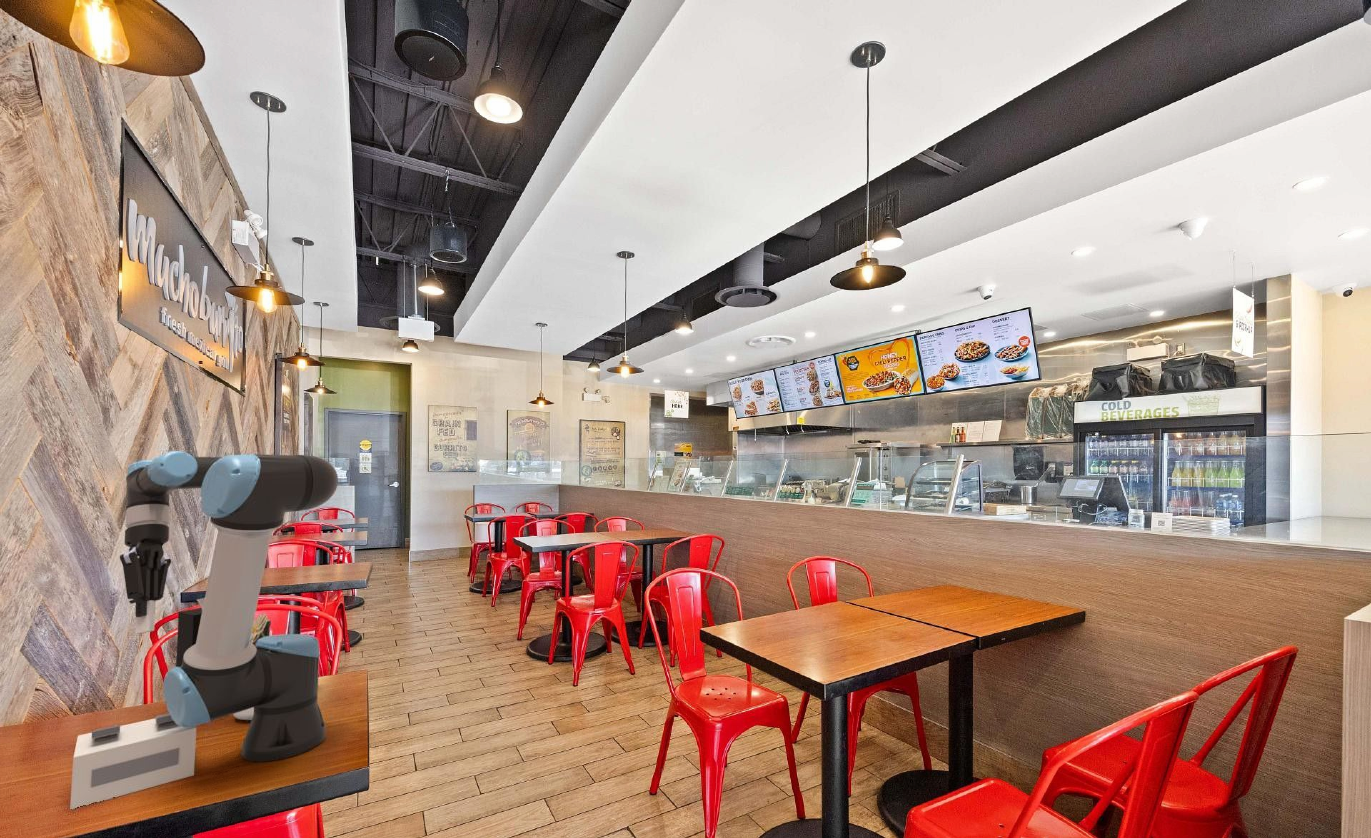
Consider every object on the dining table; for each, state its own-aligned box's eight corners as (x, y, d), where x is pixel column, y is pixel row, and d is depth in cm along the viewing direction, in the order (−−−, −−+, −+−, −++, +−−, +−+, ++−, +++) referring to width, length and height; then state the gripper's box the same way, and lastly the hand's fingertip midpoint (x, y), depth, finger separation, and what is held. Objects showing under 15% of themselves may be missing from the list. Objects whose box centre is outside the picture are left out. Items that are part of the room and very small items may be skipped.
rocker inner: (155, 721, 120) (155, 715, 120) (180, 715, 123) (180, 710, 123) (156, 723, 116) (156, 717, 116) (181, 718, 119) (182, 712, 119)
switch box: (74, 784, 114) (78, 733, 115) (189, 754, 126) (191, 708, 126) (69, 810, 105) (73, 755, 106) (193, 775, 117) (196, 726, 117)
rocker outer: (92, 736, 114) (92, 729, 114) (119, 729, 116) (120, 723, 117) (91, 738, 110) (92, 731, 110) (119, 731, 112) (120, 725, 113)
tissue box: (172, 714, 146) (178, 598, 148) (210, 702, 153) (215, 592, 155) (188, 720, 143) (194, 601, 145) (225, 708, 150) (231, 595, 152)
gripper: (148, 535, 142) (146, 637, 135) (106, 525, 130) (101, 636, 122) (184, 528, 143) (183, 628, 136) (146, 517, 131) (143, 627, 124)
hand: (144, 632), depth 129 cm, fingers closed
